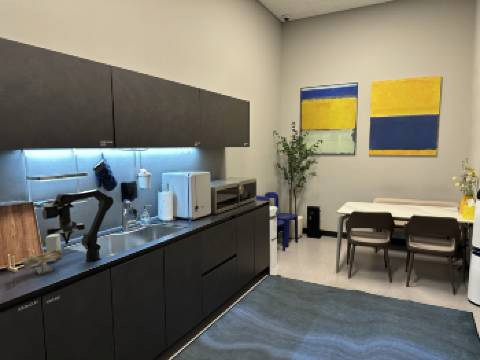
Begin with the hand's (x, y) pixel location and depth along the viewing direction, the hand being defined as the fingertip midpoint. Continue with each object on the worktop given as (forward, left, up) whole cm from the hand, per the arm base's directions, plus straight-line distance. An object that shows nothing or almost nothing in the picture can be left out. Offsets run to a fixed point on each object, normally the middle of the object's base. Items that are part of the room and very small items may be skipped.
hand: (66, 243), depth 187 cm
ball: (+14, -9, -5) cm, 18 cm away
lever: (+9, -7, -9) cm, 15 cm away
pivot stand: (+9, -7, -13) cm, 18 cm away
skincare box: (-5, -20, -13) cm, 24 cm away
